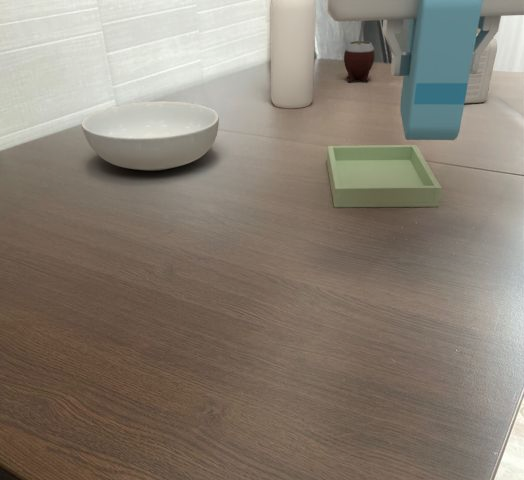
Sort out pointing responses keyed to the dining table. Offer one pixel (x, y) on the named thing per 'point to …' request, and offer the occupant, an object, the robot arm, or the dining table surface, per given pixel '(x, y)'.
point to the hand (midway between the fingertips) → (432, 74)
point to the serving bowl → (151, 134)
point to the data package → (438, 68)
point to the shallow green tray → (381, 177)
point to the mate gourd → (359, 59)
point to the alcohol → (292, 52)
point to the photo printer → (482, 75)
